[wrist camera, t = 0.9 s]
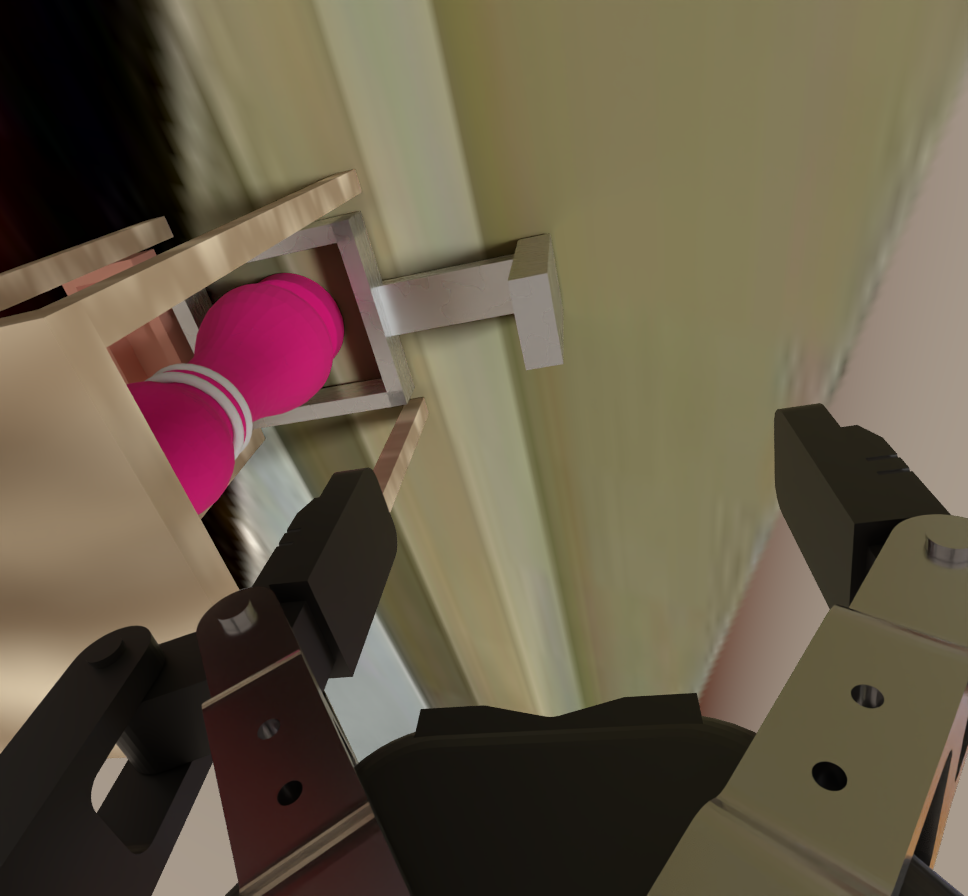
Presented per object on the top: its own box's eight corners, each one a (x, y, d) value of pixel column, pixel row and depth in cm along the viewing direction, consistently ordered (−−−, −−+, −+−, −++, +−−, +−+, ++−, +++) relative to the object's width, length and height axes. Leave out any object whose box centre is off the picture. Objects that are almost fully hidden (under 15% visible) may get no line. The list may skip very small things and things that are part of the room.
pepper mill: (372, 306, 38) (220, 496, 21) (324, 395, 42) (160, 618, 25) (263, 240, 37) (7, 385, 20) (223, 337, 40) (-24, 531, 23)
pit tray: (83, 265, 39) (57, 276, 37) (153, 249, 38) (130, 259, 36) (172, 432, 45) (154, 450, 43) (235, 422, 44) (219, 439, 42)
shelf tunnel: (146, 220, 37) (-375, 409, 16) (355, 169, 34) (44, 317, 14) (250, 441, 44) (-22, 763, 24) (428, 413, 42) (297, 749, 21)
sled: (173, 254, 38) (87, 295, 31) (539, 169, 33) (533, 195, 26) (247, 415, 43) (188, 480, 36) (572, 361, 38) (574, 424, 32)
